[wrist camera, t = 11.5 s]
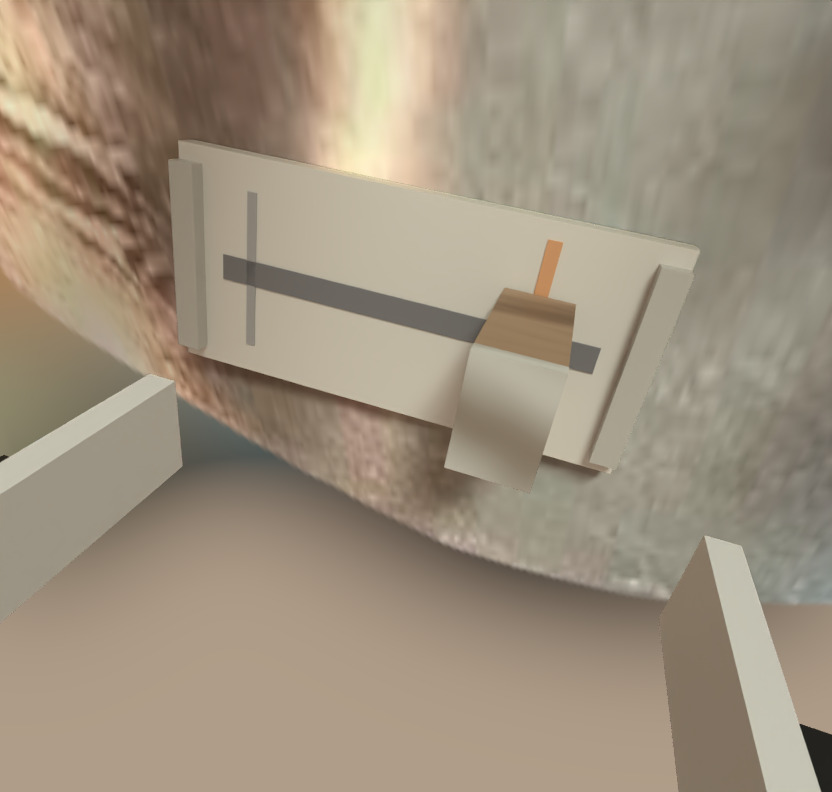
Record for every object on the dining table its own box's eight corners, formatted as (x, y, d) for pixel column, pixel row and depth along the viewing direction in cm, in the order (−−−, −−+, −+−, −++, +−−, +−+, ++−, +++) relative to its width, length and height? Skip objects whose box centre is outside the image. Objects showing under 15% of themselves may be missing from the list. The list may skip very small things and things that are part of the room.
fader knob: (504, 287, 31) (470, 349, 23) (576, 304, 30) (568, 374, 22) (482, 381, 34) (444, 467, 25) (546, 398, 33) (530, 493, 25)
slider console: (193, 139, 34) (167, 140, 32) (695, 245, 29) (703, 255, 27) (201, 344, 41) (179, 357, 39) (609, 461, 36) (610, 482, 34)
